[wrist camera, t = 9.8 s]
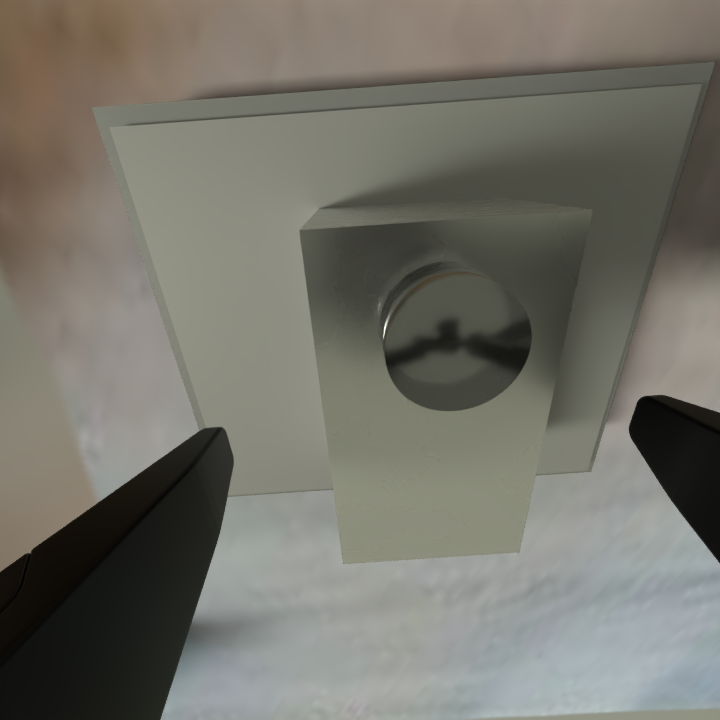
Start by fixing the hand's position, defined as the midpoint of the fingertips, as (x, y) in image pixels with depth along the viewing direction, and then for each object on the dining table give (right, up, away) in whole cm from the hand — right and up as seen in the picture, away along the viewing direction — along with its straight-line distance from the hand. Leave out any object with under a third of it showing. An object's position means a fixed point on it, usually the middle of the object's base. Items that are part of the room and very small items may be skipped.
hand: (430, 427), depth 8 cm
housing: (0, +2, +4) cm, 5 cm away
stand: (0, +3, +7) cm, 8 cm away
